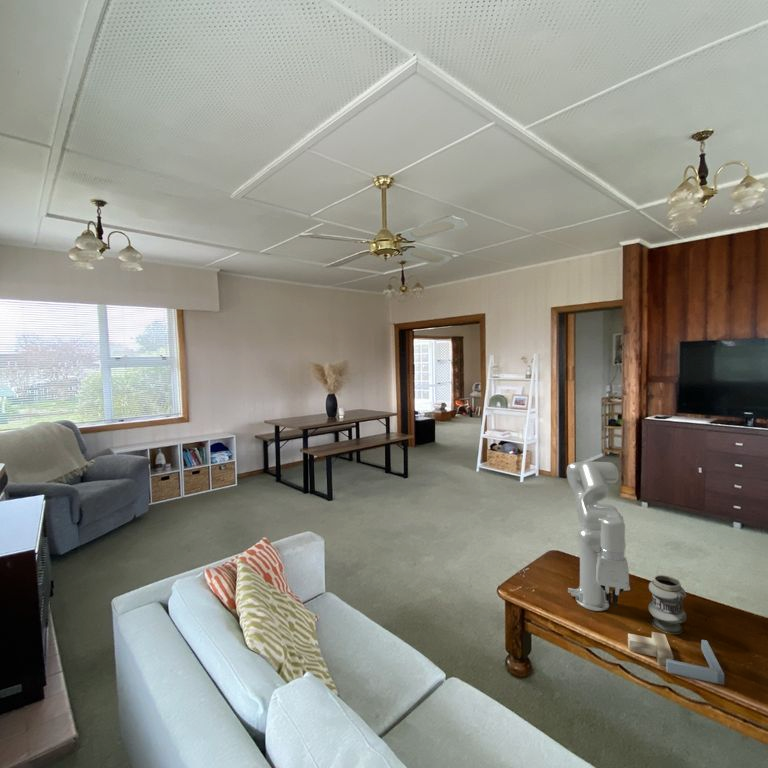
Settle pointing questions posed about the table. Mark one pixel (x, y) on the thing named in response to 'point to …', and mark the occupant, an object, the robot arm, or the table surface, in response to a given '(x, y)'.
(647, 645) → the t block
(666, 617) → the apothecary jar
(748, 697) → the table surface
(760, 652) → the table surface
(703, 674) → the fence
